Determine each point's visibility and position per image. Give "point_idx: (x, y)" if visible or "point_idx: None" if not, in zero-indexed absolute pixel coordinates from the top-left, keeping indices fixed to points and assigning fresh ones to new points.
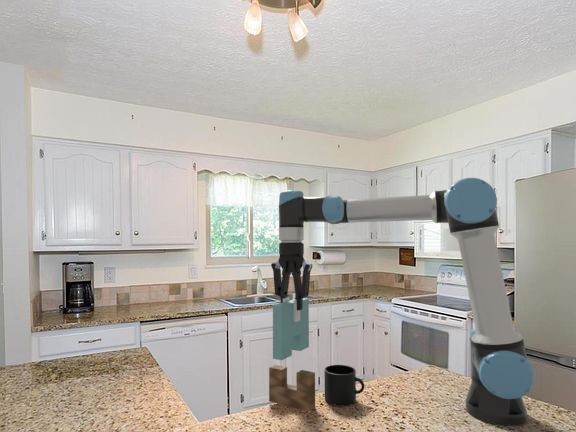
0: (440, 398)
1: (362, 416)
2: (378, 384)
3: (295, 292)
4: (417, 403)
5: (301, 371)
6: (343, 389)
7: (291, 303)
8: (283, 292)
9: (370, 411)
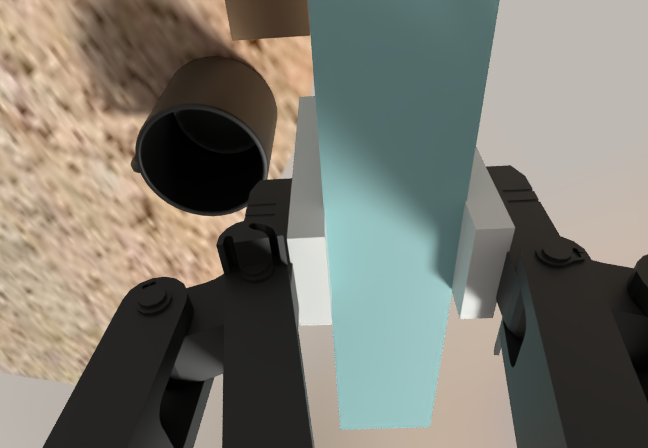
0: (20, 261)
1: (81, 31)
2: (202, 264)
3: (288, 325)
4: (37, 206)
5: (295, 12)
6: (164, 92)
7: (321, 157)
8: (537, 302)
9: (90, 83)
